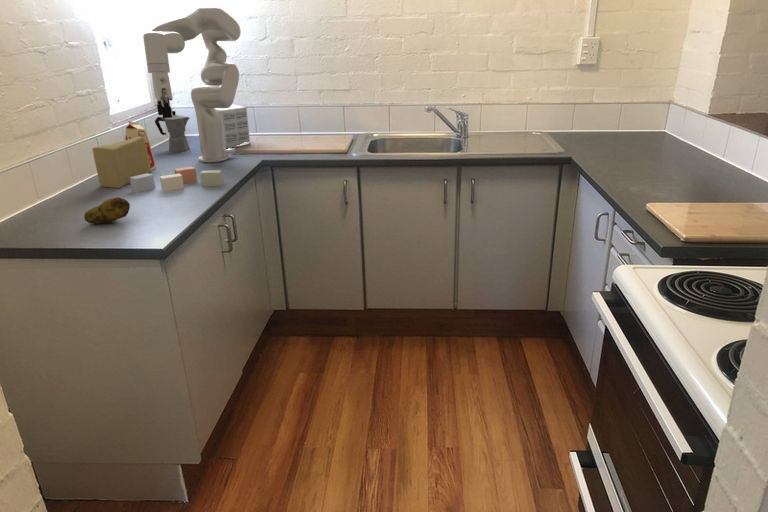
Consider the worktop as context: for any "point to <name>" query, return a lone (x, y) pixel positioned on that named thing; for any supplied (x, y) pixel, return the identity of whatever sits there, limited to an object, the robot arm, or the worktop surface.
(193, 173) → the terracotta brick
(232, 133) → the supplement box
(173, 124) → the coffeepot
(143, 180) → the slate brick
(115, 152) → the cheese
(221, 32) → the robot arm
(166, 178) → the cream brick
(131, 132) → the milk carton
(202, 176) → the sage brick
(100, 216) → the potato
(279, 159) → the worktop surface
